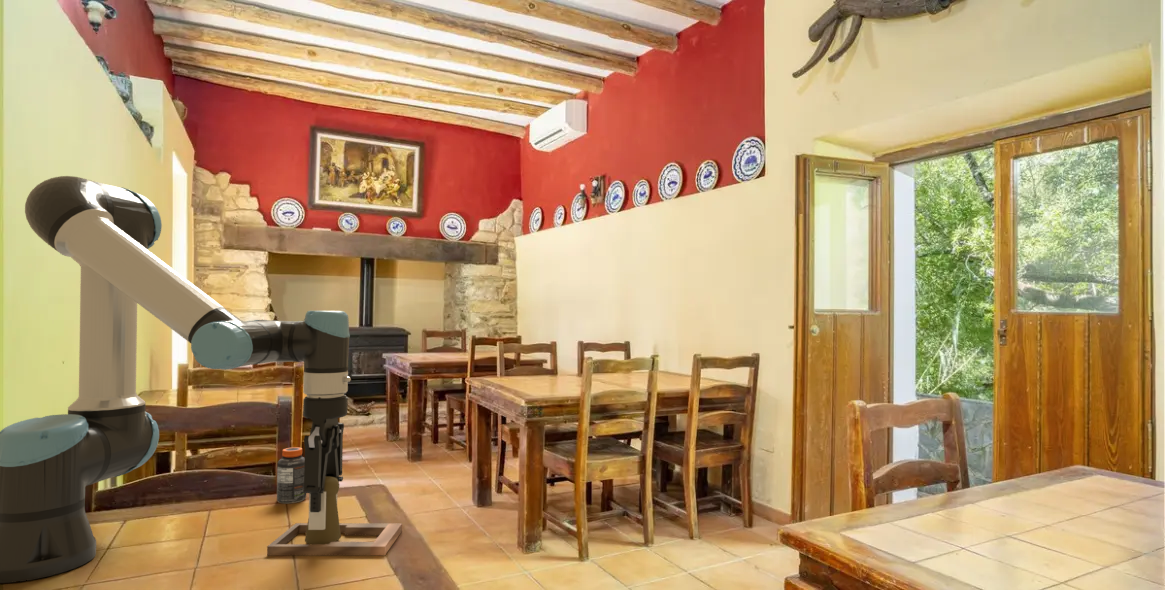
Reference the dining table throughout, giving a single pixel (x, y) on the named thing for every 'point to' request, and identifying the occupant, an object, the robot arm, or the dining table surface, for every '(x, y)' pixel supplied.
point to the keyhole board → (378, 547)
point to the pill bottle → (291, 476)
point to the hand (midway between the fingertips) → (323, 523)
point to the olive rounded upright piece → (327, 516)
